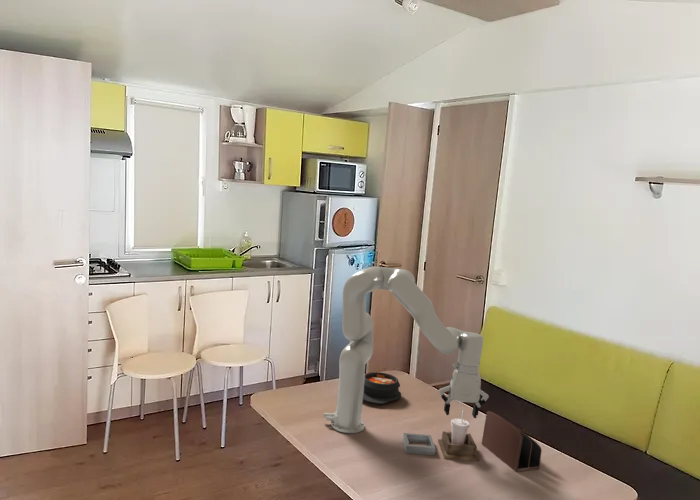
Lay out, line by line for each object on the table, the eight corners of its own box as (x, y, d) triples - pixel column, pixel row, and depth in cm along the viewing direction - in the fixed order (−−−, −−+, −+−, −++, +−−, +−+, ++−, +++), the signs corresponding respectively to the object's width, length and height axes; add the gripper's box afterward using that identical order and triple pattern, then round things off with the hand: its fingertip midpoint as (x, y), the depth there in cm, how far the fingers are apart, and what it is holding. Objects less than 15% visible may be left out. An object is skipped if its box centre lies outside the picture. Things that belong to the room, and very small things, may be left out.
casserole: (368, 383, 248) (370, 365, 247) (407, 392, 242) (409, 374, 241) (348, 401, 225) (350, 382, 224) (391, 411, 219) (393, 391, 218)
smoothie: (466, 454, 186) (471, 415, 184) (447, 450, 187) (452, 412, 186) (466, 445, 192) (470, 408, 191) (447, 442, 193) (452, 405, 192)
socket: (444, 458, 184) (445, 445, 183) (437, 441, 196) (439, 429, 195) (478, 461, 184) (480, 448, 184) (470, 444, 196) (472, 432, 195)
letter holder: (515, 472, 179) (521, 432, 177) (480, 444, 197) (485, 407, 196) (539, 469, 183) (545, 430, 181) (503, 442, 201) (508, 406, 199)
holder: (405, 452, 185) (406, 446, 185) (402, 439, 195) (403, 432, 195) (434, 455, 185) (435, 448, 185) (430, 441, 195) (430, 435, 195)
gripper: (444, 369, 183) (437, 417, 185) (495, 374, 183) (487, 422, 185) (441, 361, 190) (434, 407, 192) (489, 367, 190) (482, 413, 192)
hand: (460, 415), depth 189 cm, fingers open, 9 cm apart
